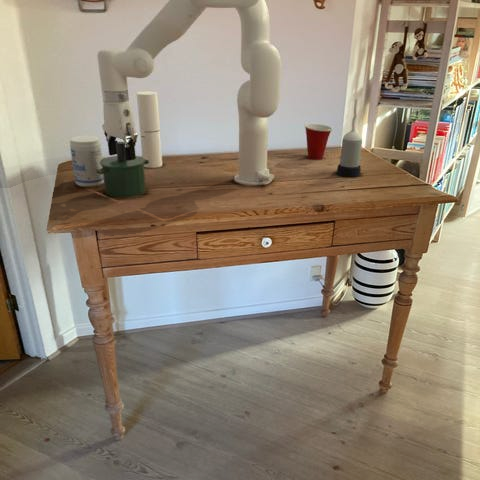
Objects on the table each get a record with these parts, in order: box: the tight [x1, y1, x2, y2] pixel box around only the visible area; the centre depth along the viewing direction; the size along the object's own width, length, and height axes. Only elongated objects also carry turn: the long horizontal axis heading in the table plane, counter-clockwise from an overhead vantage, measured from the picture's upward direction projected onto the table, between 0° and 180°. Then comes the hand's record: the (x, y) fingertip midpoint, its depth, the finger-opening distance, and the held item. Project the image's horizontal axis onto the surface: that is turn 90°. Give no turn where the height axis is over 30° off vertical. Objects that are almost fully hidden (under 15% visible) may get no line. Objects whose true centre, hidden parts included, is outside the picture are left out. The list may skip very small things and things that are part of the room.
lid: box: [100, 141, 145, 169], centre depth 161 cm, size 14×14×7 cm
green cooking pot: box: [96, 159, 149, 199], centre depth 165 cm, size 13×18×10 cm
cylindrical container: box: [136, 91, 163, 169], centre depth 189 cm, size 7×7×25 cm
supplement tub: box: [69, 135, 104, 188], centre depth 171 cm, size 10×10×15 cm
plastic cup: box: [304, 123, 334, 160], centre depth 203 cm, size 11×11×12 cm
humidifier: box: [336, 98, 363, 178], centre depth 180 cm, size 8×8×25 cm
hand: (122, 157), depth 162 cm, fingers open, 8 cm apart
